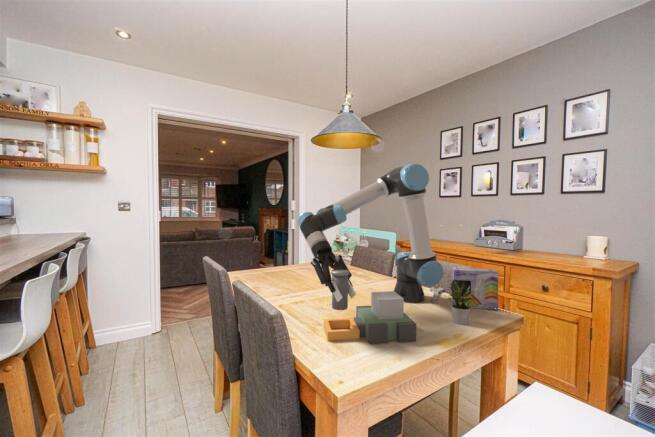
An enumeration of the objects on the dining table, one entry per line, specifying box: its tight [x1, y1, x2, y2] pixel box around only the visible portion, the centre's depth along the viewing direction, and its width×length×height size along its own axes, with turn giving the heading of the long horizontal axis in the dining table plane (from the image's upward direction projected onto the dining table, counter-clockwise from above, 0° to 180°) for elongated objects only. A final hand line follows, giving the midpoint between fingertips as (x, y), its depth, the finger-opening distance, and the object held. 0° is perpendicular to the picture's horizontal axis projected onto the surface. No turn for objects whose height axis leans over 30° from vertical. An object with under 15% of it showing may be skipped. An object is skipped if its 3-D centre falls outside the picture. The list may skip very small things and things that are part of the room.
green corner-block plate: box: [323, 290, 417, 345], centre depth 102 cm, size 30×19×13 cm, turn 98°
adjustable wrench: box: [429, 286, 444, 304], centre depth 145 cm, size 25×6×2 cm, turn 152°
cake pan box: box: [450, 266, 499, 311], centre depth 128 cm, size 19×5×18 cm, turn 72°
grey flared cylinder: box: [330, 269, 350, 311], centre depth 100 cm, size 6×6×13 cm
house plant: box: [444, 279, 479, 326], centre depth 111 cm, size 14×14×16 cm
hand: (346, 297), depth 97 cm, fingers closed on grey flared cylinder, 6 cm apart
